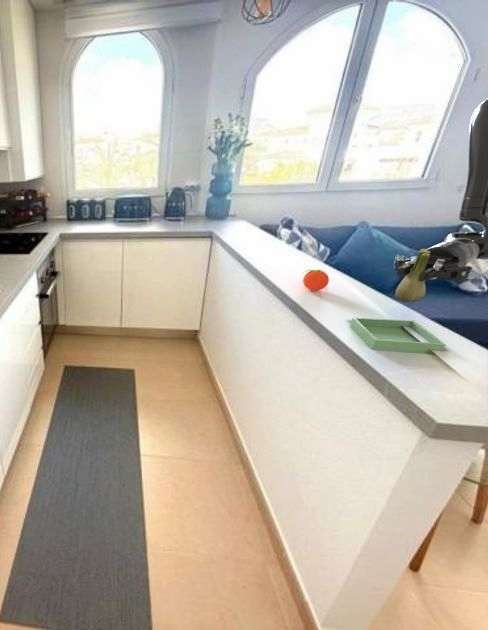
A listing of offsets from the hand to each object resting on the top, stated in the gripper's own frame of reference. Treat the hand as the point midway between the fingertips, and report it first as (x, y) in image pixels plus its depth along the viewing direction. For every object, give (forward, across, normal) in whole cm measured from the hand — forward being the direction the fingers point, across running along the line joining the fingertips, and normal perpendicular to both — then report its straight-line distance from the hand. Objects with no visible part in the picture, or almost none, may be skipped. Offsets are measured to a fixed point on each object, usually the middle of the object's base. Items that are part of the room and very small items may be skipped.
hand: (411, 274), depth 77 cm
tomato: (-19, -28, +18) cm, 39 cm away
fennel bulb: (-3, 0, +7) cm, 8 cm away
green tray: (-2, 0, +18) cm, 18 cm away
